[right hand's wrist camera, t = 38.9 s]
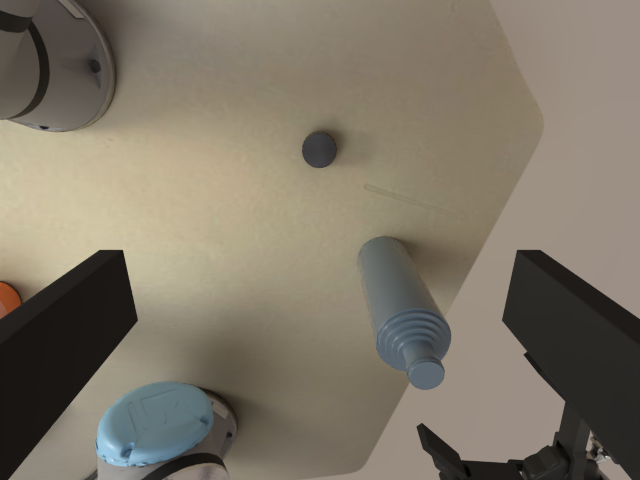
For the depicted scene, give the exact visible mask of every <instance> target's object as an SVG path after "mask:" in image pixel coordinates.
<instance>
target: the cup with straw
mask: <svg viewBox="0 0 640 480" xmlns="http://www.w3.org/2000/svg"><path fill="white" fill-rule="evenodd" d="M20 305H21V301H20V298H19V296H18V294H17V293H16V292H15V290H14V289H12V288H11V287H10V286H8V285H7V284H5V283H2V282H0V319H1V318H3V317H4V316H5V315H7V314H8V313H10V312H11V311H13V310H14V309H16V308H17V307H18V306H20Z"/></svg>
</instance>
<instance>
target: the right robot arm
mask: <svg viewBox="0 0 640 480" xmlns="http://www.w3.org/2000/svg"><path fill="white" fill-rule="evenodd" d="M115 84H116V69H115V62H114V58H113V54H112V51H111V48H110V45H109V43H108V40H107V38H106V36H105V34H104V32H103V31H102V29H101V28H100V26H99V25H98V23H97V22H96V20H95V19H94V18H93V17H92V16H91V14H90V13H89V12H88V11H87V10H86V9H85V8H84V7H83V6H82V5H80V4H79V3H78V2H77V1H75V0H0V120H4V119H6V120H9V121H12V122H15V123H18V124H21V125H25V126H27V127H31V128H34V129H38V130H43V131H50V132H65V131H73V130H78V129H82V128H84V127H87V126H89V125H91V124H92V123H94V122H95V121H97V120H98V119H99V118H100V117H101V116H102V115H103V114H104V113H105V111H106V110H107V108H108V107H109V105H110V103H111V100H112V97H113V94H114V90H115ZM137 321H138V318H137V314H136V309H135V304H134V300H133V295H132V290H131V286H130V281H129V276H128V272H127V267H126V262H125V258H124V253H123V250H99V251H98V252H96V253H95V254H93V255H92V256H90V257H89V258H88V259H86V260H85V261H83V262H82V263H80V264H79V265H77V266H76V267H75V268H73V269H72V270H70V271H69V272H67V273H66V274H65V275H63V276H62V277H60V278H59V279H57V280H56V281H54V282H53V283H52V284H50V285H49V286H47V287H46V288H44V289H43V290H41V291H40V292H39V293H37V294H36V295H34V296H33V297H31V298H30V299H29V300H27V301H26V302H24V303H23V304H21V305H20V306H18V307H17V308H16V309H14V310H13V311H11V312H10V313H8V314H7V315H5V316H4V317H3V318H1V319H0V480H8V479H9V478H10V477H11V476H12V474H13V473H14V472H15V471H16V469H17V468H18V467H19V466H20V464H21V463H22V462H23V461H24V460H25V458H26V457H27V456H28V455H29V453H30V452H31V451H32V450H33V449H34V447H35V446H36V445H37V444H38V442H39V441H40V440H41V439H42V437H43V436H44V435H45V434H46V433H47V431H48V430H49V429H50V428H51V426H52V425H53V424H54V423H55V422H56V420H57V419H58V418H59V417H60V415H61V414H62V413H63V412H64V411H65V409H66V408H67V407H68V406H69V404H70V403H71V402H72V401H73V399H74V398H75V397H76V396H77V395H78V393H79V392H80V391H81V390H82V388H83V387H84V386H85V385H86V384H87V382H88V381H89V380H90V379H91V377H92V376H93V375H94V374H95V372H96V371H97V370H98V369H99V368H100V366H101V365H102V364H103V363H104V361H105V360H106V359H107V358H108V357H109V355H110V354H111V353H112V352H113V350H114V349H115V348H116V347H117V345H118V344H119V343H120V342H121V341H122V339H123V338H124V337H125V336H126V334H127V333H128V332H129V331H130V330H131V328H132V327H133V326H134V325H135V323H136V322H137ZM502 321H503V322H504V323H505V325H506V326H507V327H508V328H509V329H510V331H511V332H512V333H513V334H514V336H515V337H516V338H517V339H518V341H519V342H520V343H521V344H522V345H523V347H524V348H525V349H526V350H527V352H528V353H529V354H530V355H531V357H532V358H533V359H534V360H535V361H536V363H537V364H538V365H539V366H540V368H541V369H542V370H543V371H544V372H545V374H546V375H547V376H548V377H549V379H550V380H551V381H552V382H553V384H554V385H555V386H556V387H557V388H558V390H559V391H560V392H561V393H562V395H563V396H564V397H565V398H566V399H567V401H568V402H569V403H570V404H571V406H572V407H573V408H574V409H575V411H576V412H577V413H578V414H579V415H580V417H581V418H582V419H583V420H584V422H585V423H586V424H587V425H588V426H589V428H590V429H591V430H592V431H593V433H594V434H595V435H596V436H597V438H598V439H599V440H600V441H601V442H602V444H603V445H604V446H605V447H606V449H607V450H608V451H609V452H610V453H611V455H612V456H613V457H614V458H615V460H616V461H617V462H618V463H619V464H620V466H621V467H622V468H623V469H624V471H625V472H626V473H627V474H628V476H629V477H630V478H631V479H632V480H640V319H639V318H637V317H636V316H634V315H633V314H632V313H630V312H629V311H627V310H626V309H624V308H623V307H621V306H620V305H619V304H617V303H616V302H614V301H613V300H611V299H610V298H609V297H607V296H606V295H604V294H603V293H601V292H600V291H599V290H597V289H596V288H594V287H593V286H591V285H590V284H588V283H587V282H585V281H584V280H583V279H581V278H580V277H578V276H577V275H575V274H574V273H573V272H571V271H570V270H568V269H567V268H565V267H564V266H563V265H561V264H560V263H558V262H557V261H555V260H554V259H552V258H551V257H549V256H548V255H547V254H545V253H544V252H542V251H541V250H517V253H516V258H515V262H514V267H513V272H512V276H511V281H510V286H509V290H508V295H507V300H506V304H505V309H504V314H503V318H502Z"/></svg>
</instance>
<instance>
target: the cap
mask: <svg viewBox="0 0 640 480" xmlns="http://www.w3.org/2000/svg"><path fill="white" fill-rule="evenodd" d="M302 147H303V148H302V153H303V157H304V159H305V161H306V162H307V163H308V164H309V165H311V166H312V167H315V168H323V167H326V166H328V165H329V164H331V163H332V162H333V160H334V159H335V156H336V150H337V149H336V144H335V142H334V139H332V137H331V136H330V135H328V134H327V133H324V132H319V131H318V132H314V133H312V134H310V135H309V136H308V137H306V140H305V141H304V144H303V146H302Z"/></svg>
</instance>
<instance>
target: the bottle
mask: <svg viewBox="0 0 640 480" xmlns="http://www.w3.org/2000/svg"><path fill="white" fill-rule="evenodd" d="M357 264H358V269H359V273H360V278H361V282H362V287H363V291H364V295H365V300H366V304H367V309H368V313H369V318H370V322H371V327H372V331H373V336H374V340H375V345H376V349H377V352H378V354H379V356H380V357H381V358H382V360H383V361H384V362H386V363H387V364H388V365H390V366H391V367H393V368H395V369H397V370H400V371H405V372H407V376H408V379H409V380H410V382H411V384H412V385H413V386H415V387H416V388H418V389H423V390H427V389H432V388H435V387H436V386H438V385H439V384H440V383H441V382H442V381H443V379H444V367H443V366H442V363H441V360H442V359H443V357H444V356H445V355H446V353H447V351H448V349H449V346H450V342H451V331H450V328H449V325H448V323H447V322H446V320H445V318H444V316H443V314H442V313H441V311H440V309H439V307H438V306H437V304H436V302H435V300H434V298H433V297H432V295H431V293H430V291H429V290H428V288H427V286H426V284H425V282H424V281H423V279H422V277H421V275H420V274H419V272H418V270H417V268H416V267H415V265H414V263H413V261H412V259H411V258H410V256H409V254H408V252H407V251H406V249H405V247H404V246H403V245H402V244H401V243H400V242H399V241H398V240H396V239H394V238H390V237H378V238H374V239H372V240H370V241H368V242H367V243H366V244H365V245H364V246H363V247H362V248H361V250H360V252H359V254H358V258H357Z"/></svg>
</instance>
